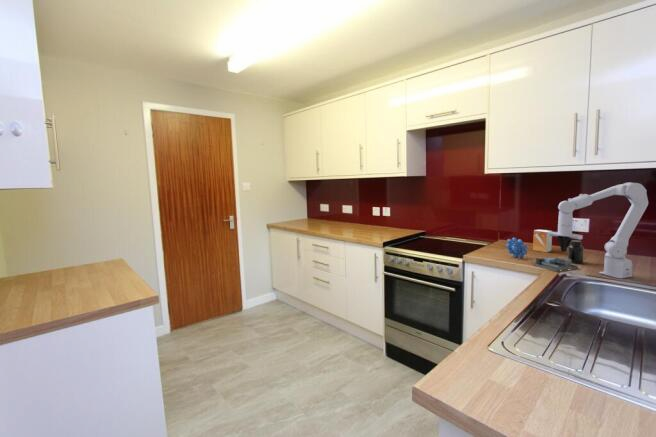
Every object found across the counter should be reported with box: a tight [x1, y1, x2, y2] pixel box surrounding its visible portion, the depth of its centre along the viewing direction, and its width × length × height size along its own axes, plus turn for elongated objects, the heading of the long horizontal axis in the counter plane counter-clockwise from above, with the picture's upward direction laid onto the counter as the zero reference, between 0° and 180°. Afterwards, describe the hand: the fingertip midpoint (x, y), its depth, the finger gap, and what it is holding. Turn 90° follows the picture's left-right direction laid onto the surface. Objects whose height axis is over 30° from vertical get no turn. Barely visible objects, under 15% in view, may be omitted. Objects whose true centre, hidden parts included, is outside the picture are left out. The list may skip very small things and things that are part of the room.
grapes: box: [505, 237, 528, 259], centre depth 187 cm, size 12×7×12 cm, turn 42°
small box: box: [532, 229, 553, 253], centre depth 201 cm, size 8×6×13 cm
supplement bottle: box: [567, 239, 585, 265], centre depth 173 cm, size 7×7×12 cm
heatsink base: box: [532, 256, 579, 272], centre depth 167 cm, size 14×14×4 cm
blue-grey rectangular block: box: [541, 256, 556, 265], centre depth 170 cm, size 7×5×3 cm, turn 15°
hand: (563, 251), depth 160 cm, fingers closed
